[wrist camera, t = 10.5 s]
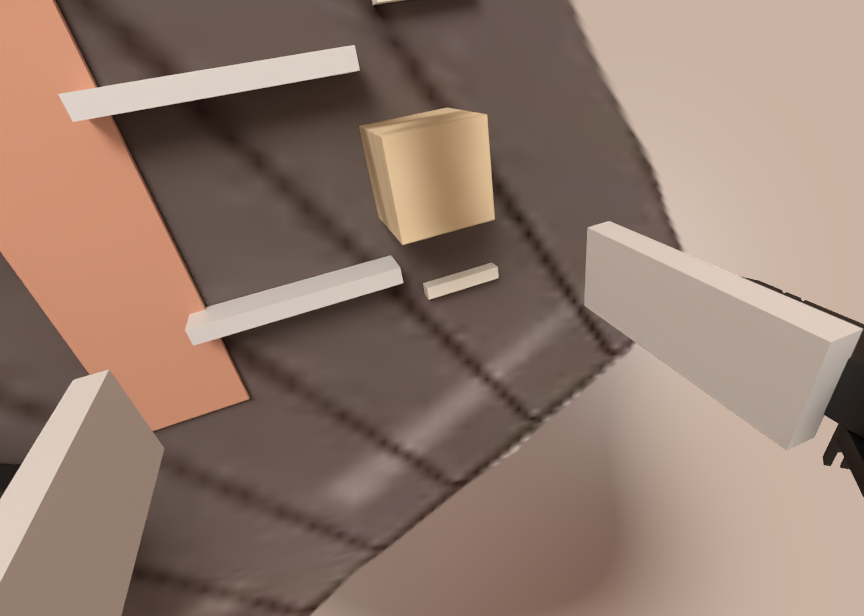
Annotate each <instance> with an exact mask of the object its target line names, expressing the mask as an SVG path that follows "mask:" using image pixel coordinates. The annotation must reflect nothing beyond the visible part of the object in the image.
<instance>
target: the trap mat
mask: <svg viewBox="0 0 864 616" xmlns="http://www.w3.org/2000/svg"><path fill="white" fill-rule="evenodd" d="M91 88H97V85H96V82H95V80H94V78H93V76H92V74H91V72H90V70H89V68H88V66H87V64H86V62H85V60H84V58H83V56H82V54H81V52H80V50H79V48H78V46H77V44H76V42H75V40H74V38H73V36H72V34H71V32H70V30H69V28H68V25H67V23H66V21H65V19H64V17H63V15H62V13H61V11H60V9H59V7H58V5H57V3H56V1H55V0H0V251H1V253H2V254H3V256H4V257H5V258H6V260H7V261H8V262H9V264H10V265H11V267H12V268H13V269H14V271H15V272H16V274H17V275H18V276H19V278H20V279H21V280H22V282H23V283H24V285H25V286H26V287H27V289H28V290H29V291H30V293H31V294H32V296H33V297H34V298H35V300H36V301H37V303H38V304H39V305H40V307H41V308H42V309H43V311H44V312H45V314H46V315H47V316H48V318H49V319H50V320H51V322H52V323H53V325H54V326H55V327H56V329H57V330H58V332H59V333H60V334H61V336H62V337H63V338H64V340H65V341H66V343H67V344H68V345H69V347H70V348H71V349H72V351H73V352H74V354H75V355H76V356H77V358H78V359H79V360H80V362H81V363H82V365H83V366H84V367H85V369H86V370H87V372H88V373H89V374H90V375H92V374H95V373H98V372H102V371H105V370H110V371H111V373H112V374H113V375H114V377H115V378H116V380H117V381H118V383H119V384H120V385H121V387H122V388H123V390H124V391H125V393H126V394H127V396H128V397H129V398H130V400H131V401H132V403H133V404H134V406H135V407H136V408H137V410H138V411H139V413H140V414H141V416H142V417H143V419H144V420H145V421H146V423H147V424H148V426H149V427H150V429H151V430H152V431H155V430H158V429H161V428H164V427H167V426H170V425H173V424H176V423H179V422H182V421H185V420H188V419H191V418H194V417H197V416H200V415H203V414H206V413H209V412H212V411H215V410H218V409H221V408H224V407H227V406H230V405H233V404H236V403H239V402H242V401H245V400H248V399H249V394H248V392H247V390H246V388H245V386H244V384H243V382H242V380H241V378H240V376H239V374H238V371H237V369H236V367H235V365H234V363H233V361H232V359H231V357H230V355H229V353H228V351H227V349H226V347H225V345H224V343H223V341H222V339H221V338H217V339H214V340H211V341H207V342H204V343H201V344H197V345H194V346H193V344H192V342H191V340H190V339H189V337H188V335H187V333H186V331H185V328H186V325H187V321H188V317H189V314H193V313H196V312H200V311H203V310H205V309H206V306H205V304H204V302H203V300H202V298H201V296H200V294H199V292H198V290H197V288H196V286H195V284H194V282H193V280H192V278H191V276H190V274H189V272H188V270H187V268H186V266H185V264H184V262H183V260H182V258H181V255H180V253H179V251H178V249H177V247H176V245H175V243H174V241H173V239H172V237H171V235H170V233H169V231H168V229H167V227H166V225H165V223H164V221H163V219H162V217H161V215H160V213H159V211H158V209H157V207H156V205H155V203H154V201H153V198H152V196H151V194H150V192H149V190H148V188H147V186H146V184H145V182H144V180H143V178H142V176H141V174H140V172H139V170H138V168H137V166H136V164H135V162H134V160H133V158H132V156H131V154H130V152H129V150H128V148H127V146H126V144H125V142H124V139H123V137H122V135H121V133H120V131H119V129H118V127H117V125H116V123H115V121H114V119H113V117H112V115H109V116H104V117H98V118H93V119H87V120H81V121H76V122H73V121H72V119H71V117H70V116H69V114H68V112H67V110H66V108H65V106H64V104H63V103H62V101H61V99H60V97H59V95H58V94H61V93H67V92H73V91H79V90H85V89H91Z"/></svg>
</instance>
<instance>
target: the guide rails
mask: <svg viewBox="0 0 864 616" xmlns="http://www.w3.org/2000/svg"><path fill="white" fill-rule="evenodd" d="M355 71H360V69H359V64H358V59H357V55H356V50H355V45H351V46H345V47H339V48H333V49H327V50H321V51H315V52H309V53H303V54H297V55H291V56H285V57H279V58H273V59H267V60H261V61H255V62H249V63H243V64H237V65H231V66H224V67H218V68H212V69H206V70H200V71H194V72H188V73H182V74H176V75H170V76H164V77H158V78H152V79H146V80H140V81H134V82H128V83H122V84H116V85H110V86H104V87H97V88H91V89H85V90H79V91H73V92H67V93H61V94H58V95H59V97H60V99H61V101H62V103H63V104H64V106H65V108H66V110H67V112H68V114H69V116H70V117H71V119H72V121H73V122H76V121H81V120H87V119H93V118H98V117H104V116H109V115H115V114H120V113H126V112H132V111H137V110H143V109H148V108H154V107H160V106H165V105H171V104H176V103H182V102H187V101H193V100H199V99H204V98H210V97H215V96H221V95H226V94H232V93H238V92H243V91H249V90H254V89H260V88H266V87H271V86H277V85H282V84H288V83H293V82H299V81H305V80H310V79H316V78H321V77H327V76H332V75H338V74H344V73H349V72H355ZM402 283H403V278H402V274H401V269H400V267H399V265H398V264H397V263H396V261H395V260H394V259H393V257H392V256H391V255H390V256H386V257H383V258H379V259H376V260H372V261H369V262H365V263H361V264H358V265H354V266H351V267H347V268H344V269H340V270H337V271H333V272H329V273H326V274H322V275H319V276H315V277H312V278H308V279H304V280H301V281H297V282H294V283H290V284H287V285H283V286H280V287H276V288H272V289H269V290H265V291H262V292H258V293H255V294H251V295H248V296H244V297H240V298H237V299H233V300H230V301H226V302H223V303H219V304H216V305H212V306H208V307H206V309H205V310H203V311H200V312H196V313H193V314H189V317H188V321H187V325H186V328H185V331H186V333H187V335H188V337H189V339H190V340H191V342H192V344H193V346H194V345H197V344H201V343H204V342H207V341H211V340H214V339H217V338H221V337H224V336H228V335H231V334H234V333H238V332H241V331H244V330H248V329H251V328H254V327H258V326H261V325H264V324H268V323H271V322H275V321H278V320H281V319H285V318H288V317H291V316H295V315H298V314H301V313H305V312H308V311H311V310H315V309H318V308H322V307H325V306H328V305H332V304H335V303H338V302H342V301H345V300H348V299H352V298H355V297H358V296H362V295H365V294H369V293H372V292H375V291H379V290H382V289H385V288H389V287H392V286H395V285H399V284H402Z"/></svg>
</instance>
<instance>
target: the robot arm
mask: <svg viewBox="0 0 864 616" xmlns="http://www.w3.org/2000/svg"><path fill="white" fill-rule="evenodd" d="M584 306H586V307H587V308H588V309H590V310H591V311H593V312H594V313H595V314H597V315H598V316H600V317H601V318H602V319H604V320H605V321H607V322H608V323H609V324H611V325H612V326H614V327H615V328H616V329H618V330H619V331H621V332H622V333H623V334H625V335H626V336H628V337H629V338H630V339H632V340H633V341H635V342H636V343H637V344H639V345H640V346H641V347H643V348H644V349H646V350H647V351H649V352H650V353H651V354H653V355H654V356H655V357H657V358H658V359H660V360H661V361H663V362H664V363H665V364H667V365H668V366H669V367H671V368H672V369H674V370H675V371H676V372H678V373H679V374H681V375H682V376H683V377H685V378H686V379H688V380H689V381H690V382H692V383H693V384H695V385H696V386H697V387H699V388H700V389H701V390H703V391H704V392H706V393H707V394H709V395H710V396H711V397H713V398H714V399H716V400H717V401H718V402H720V403H721V404H722V405H724V406H725V407H727V408H728V409H729V410H731V411H732V412H734V413H735V414H736V415H738V416H739V417H741V418H742V419H743V420H745V421H746V422H747V423H749V424H750V425H752V426H753V427H754V428H756V429H757V430H759V431H760V432H762V433H763V434H764V435H766V436H767V437H768V438H770V439H772V440H773V441H774V442H775V443H777V444H778V445H780V446H781V447H782V448H784V449H785V450H789V449H791V448H792V447H795V446H797V445H799V444H801V443H803V442H805V441H807V440H809V439H812V438H814V437H815V435H816V433H817V430H818V428H819V426H820V423H821V421H822V419H823V417H824V415H826V416H827V417H829V418H830V419H832V420H834V421H835V422H837V423H839V424H838V426H837V428H836V430H835V432H834V434H833V436H832V439H831V441H830V443H829V445H828V447H827V449H826V451H825V453H824V456H823V462H824V465H827V466H831V464H832V462H833V460H834V458H835V456H836V455H837V453H838V452H842V453H843V455H844V459H843V461H842V463H841V465H840V467H841V468H846V469H850V470H851V472H852V474H853V476H854V478H855V480H856V482H857V485H858V486H859V489H860V491H861V493H862V495H863V497H864V324H862V323H859V322H857V321H855V320H852V319H850V318H847V317H845V316H843V315H840V314H838V313H835V312H833V311H831V310H828V309H826V308H823V307H821V306H818V305H816V304H814V303H811V302H809V301H806V300H805V301H802V300H801V298H799V297H797V296H795V295H792V294H789V293H787V292H786V293H783V292H782V290H780V289H777V288H775V287H773V286H770V285H768V284H766V283H763V282H761V281H758V280H753V279H749V278H744V277H740V276H738V275H735V274H733V273H730V272H728V271H726V270H723V269H721V268H718V267H716V266H714V265H712V264H709V263H707V262H705V261H702V260H700V259H697V258H695V257H693V256H690V255H688V254H686V253H683V252H681V251H679V250H676V249H674V248H671V247H669V246H667V245H664V244H662V243H660V242H657V241H655V240H653V239H650V238H648V237H646V236H643V235H641V234H638V233H636V232H634V231H631V230H629V229H627V228H624V227H622V226H620V225H617V224H615V223H612V222H610V221H608V222H605V223H601V224H598V225H595V226H591V227H588V229H587V254H586V278H585V303H584ZM163 452H164V447H163V446H162V444H161V443H160V442H159V440H158V439H157V437H156V436H155V434H154V433H153V432H152V430H151V429H150V427H149V426H148V424H147V423H146V421H145V420H144V419H143V417H142V416H141V414H140V413H139V411H138V410H137V408H136V407H135V406H134V404H133V403H132V401H131V400H130V398H129V397H128V396H127V394H126V393H125V391H124V390H123V388H122V387H121V385H120V384H119V383H118V381H117V380H116V378H115V377H114V375H113V374H112V373H111V371H110V370H105V371H102V372H98V373H95V374H92V375H88V376H85V377H82V378H78V379H75V380H73V381H72V383H71V384H70V386H69V388H68V389H67V391H66V392H65V394H64V396H63V397H62V399H61V401H60V402H59V404H58V406H57V407H56V409H55V410H54V412H53V414H52V415H51V417H50V419H49V420H48V422H47V424H46V425H45V427H44V428H43V430H42V432H41V433H40V435H39V437H38V438H37V440H36V441H35V443H34V445H33V446H32V448H31V450H30V451H29V453H28V455H27V456H26V458H25V459H24V461H23V463H22V464H21V466H18V465H8V464H0V616H121V615H122V611H123V607H124V603H125V599H126V596H127V592H128V588H129V584H130V580H131V576H132V572H133V568H134V564H135V561H136V557H137V553H138V549H139V545H140V541H141V537H142V533H143V529H144V526H145V522H146V518H147V514H148V510H149V506H150V502H151V498H152V494H153V491H154V487H155V483H156V479H157V475H158V471H159V467H160V463H161V459H162V455H163Z"/></svg>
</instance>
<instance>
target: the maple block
mask: <svg viewBox="0 0 864 616" xmlns="http://www.w3.org/2000/svg"><path fill="white" fill-rule="evenodd" d="M359 129H360V134H361V138H362V143H363V147H364V152H365V157H366V161H367V166H368V170H369V175H370V179H371V184H372V189H373V193H374V198H375V202H376V207H377V211H378V216H379V218H380V219H381V220H382V222H383V223H384V224H385V225H386V226H387V227H388V229H389V230H390V231H391V232H392V233H393V234H394V236H395V237H396V238H397V239H398V240H399V241H400V243H401V244H402V245H404V244H408V243H411V242H415V241H419V240H422V239H426V238H429V237H433V236H437V235H440V234H444V233H447V232H451V231H455V230H458V229H462V228H466V227H469V226H473V225H476V224H480V223H484V222H487V221H491V220H494V219H495V216H494V203H493V189H492V176H491V162H490V148H489V135H488V121H487V114H481V113H475V112H469V111H464V110H458V109H452V108H443V109H438V110H434V111H429V112H424V113H419V114H414V115H409V116H405V117H400V118H395V119H390V120H385V121H381V122H376V123H371V124H366V125H361V126H359Z"/></svg>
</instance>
